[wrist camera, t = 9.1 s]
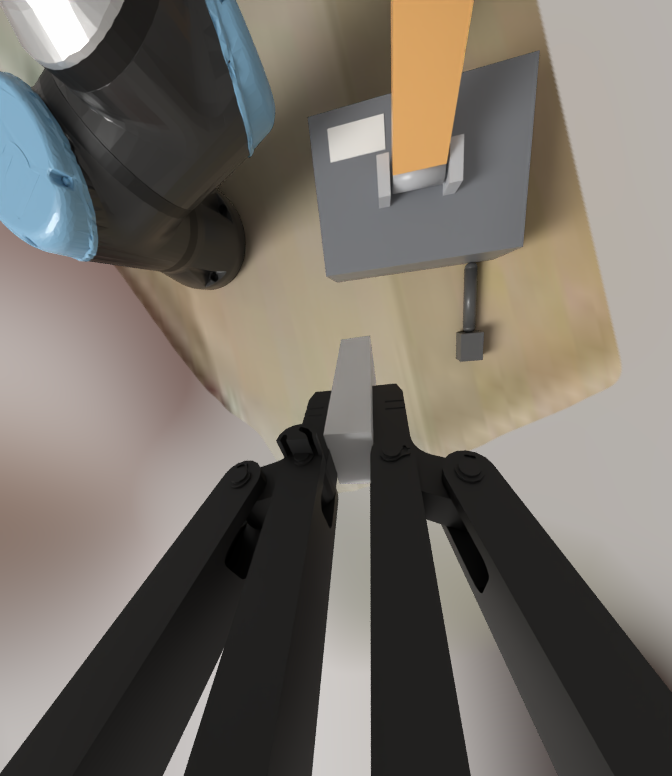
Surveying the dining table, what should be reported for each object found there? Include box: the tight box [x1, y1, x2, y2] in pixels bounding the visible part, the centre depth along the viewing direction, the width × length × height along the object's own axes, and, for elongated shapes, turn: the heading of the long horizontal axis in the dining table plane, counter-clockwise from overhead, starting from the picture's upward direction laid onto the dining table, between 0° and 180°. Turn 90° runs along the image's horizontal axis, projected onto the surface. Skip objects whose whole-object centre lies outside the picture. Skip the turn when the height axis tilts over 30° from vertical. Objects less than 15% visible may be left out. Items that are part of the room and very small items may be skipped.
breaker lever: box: [391, 0, 474, 194], centre depth 21 cm, size 5×2×13 cm
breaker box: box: [308, 50, 540, 362], centre depth 32 cm, size 22×30×11 cm
